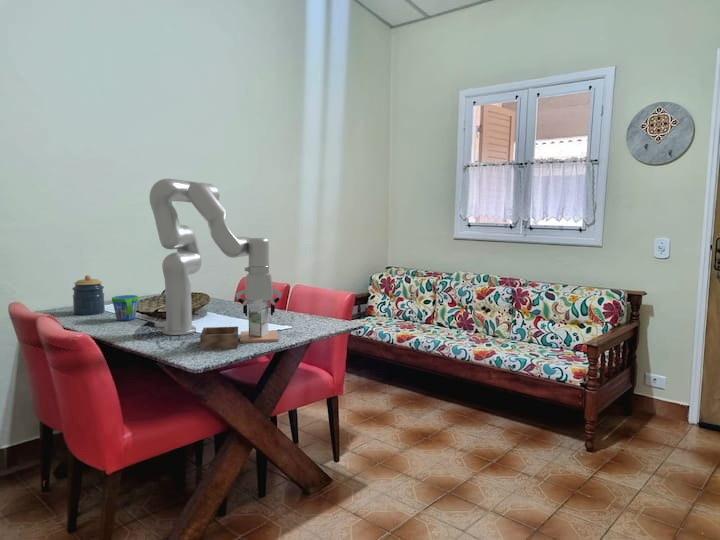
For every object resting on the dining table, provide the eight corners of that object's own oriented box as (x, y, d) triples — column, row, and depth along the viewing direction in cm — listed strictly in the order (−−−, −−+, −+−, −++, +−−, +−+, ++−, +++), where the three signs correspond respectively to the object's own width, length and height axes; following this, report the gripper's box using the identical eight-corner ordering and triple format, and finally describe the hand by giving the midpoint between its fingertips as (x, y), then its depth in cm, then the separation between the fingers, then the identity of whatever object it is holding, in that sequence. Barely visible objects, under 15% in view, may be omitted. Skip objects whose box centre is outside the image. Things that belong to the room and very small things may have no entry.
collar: (200, 349, 176) (200, 335, 175) (203, 340, 188) (203, 327, 187) (237, 348, 178) (237, 334, 178) (238, 339, 190) (238, 326, 190)
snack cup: (111, 317, 226) (110, 294, 225) (136, 315, 231) (135, 293, 230) (114, 324, 213) (113, 300, 211) (141, 321, 218) (140, 298, 217)
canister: (78, 310, 240) (76, 273, 238) (107, 309, 243) (106, 273, 241) (69, 316, 228) (67, 277, 226) (101, 315, 231) (99, 276, 229)
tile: (239, 342, 186) (239, 340, 185) (240, 333, 199) (240, 331, 199) (278, 341, 188) (278, 338, 188) (276, 332, 202) (276, 330, 202)
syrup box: (269, 334, 196) (268, 297, 194) (261, 337, 190) (261, 299, 188) (256, 332, 197) (255, 296, 196) (248, 336, 192) (247, 298, 190)
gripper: (234, 271, 186) (235, 317, 187) (282, 271, 189) (282, 316, 191) (235, 269, 193) (236, 313, 195) (281, 269, 196) (281, 312, 198)
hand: (259, 315), depth 193 cm, fingers open, 9 cm apart
